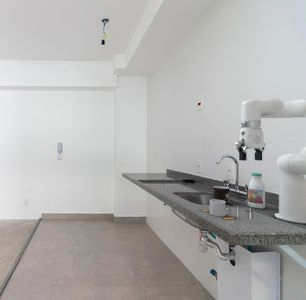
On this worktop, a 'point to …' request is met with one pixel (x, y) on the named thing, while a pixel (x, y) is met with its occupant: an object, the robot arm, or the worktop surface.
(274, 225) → the worktop surface
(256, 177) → the milk bottle
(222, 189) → the coffee mug
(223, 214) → the pot
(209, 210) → the tape marks
